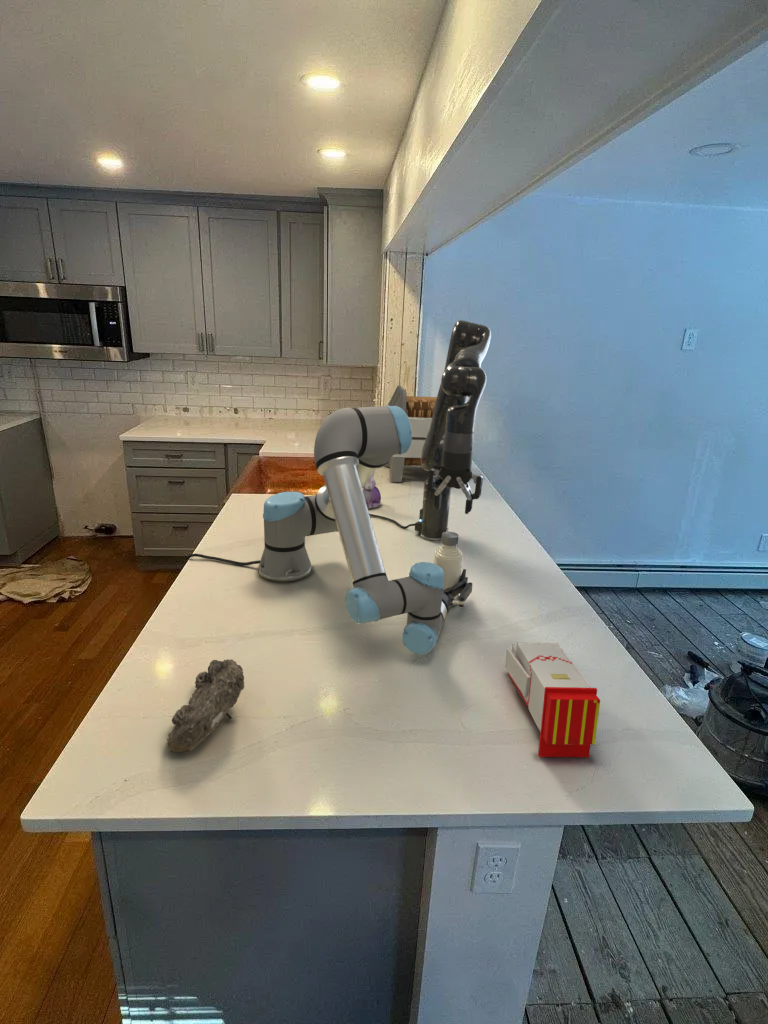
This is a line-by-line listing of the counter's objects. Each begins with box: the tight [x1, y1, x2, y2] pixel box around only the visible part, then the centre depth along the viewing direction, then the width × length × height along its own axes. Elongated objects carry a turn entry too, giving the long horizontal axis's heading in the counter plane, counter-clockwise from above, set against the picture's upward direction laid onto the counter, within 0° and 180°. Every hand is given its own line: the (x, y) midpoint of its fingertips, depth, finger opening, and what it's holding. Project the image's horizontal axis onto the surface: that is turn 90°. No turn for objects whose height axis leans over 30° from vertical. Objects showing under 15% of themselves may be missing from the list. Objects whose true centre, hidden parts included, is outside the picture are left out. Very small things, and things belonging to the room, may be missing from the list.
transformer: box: [384, 384, 444, 483], centre depth 268 cm, size 34×33×41 cm
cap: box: [440, 531, 460, 546], centre depth 150 cm, size 4×4×2 cm
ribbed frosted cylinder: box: [433, 543, 464, 607], centre depth 153 cm, size 8×8×19 cm
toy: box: [504, 642, 601, 758], centre depth 113 cm, size 12×13×30 cm
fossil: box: [166, 658, 245, 754], centre depth 106 cm, size 22×10×15 cm
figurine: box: [362, 470, 382, 510], centre depth 224 cm, size 9×10×15 cm
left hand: (449, 571), depth 158 cm, fingers closed on ribbed frosted cylinder, 7 cm apart
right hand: (452, 510), depth 147 cm, fingers open, 7 cm apart
